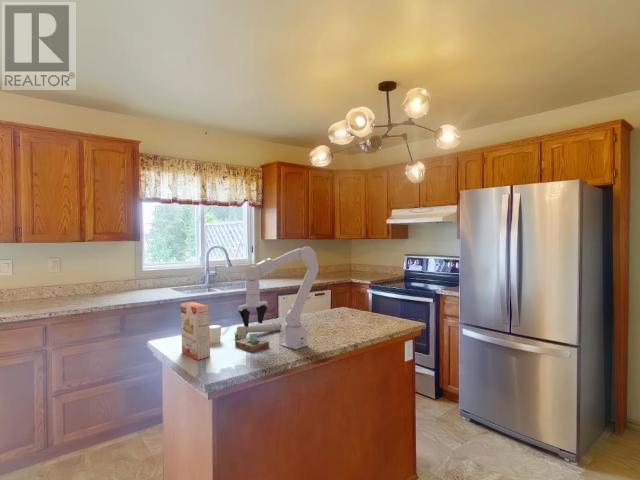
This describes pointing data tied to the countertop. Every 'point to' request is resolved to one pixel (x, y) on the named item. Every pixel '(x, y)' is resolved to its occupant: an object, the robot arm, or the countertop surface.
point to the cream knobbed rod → (256, 329)
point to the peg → (253, 338)
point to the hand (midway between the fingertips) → (253, 324)
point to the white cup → (215, 333)
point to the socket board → (250, 347)
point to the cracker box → (195, 330)
